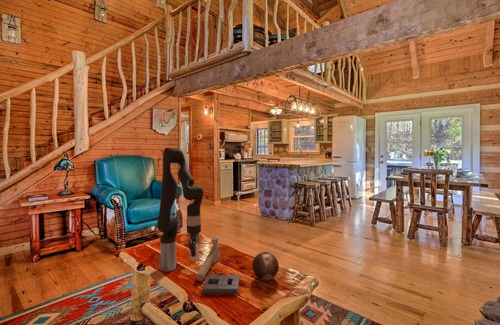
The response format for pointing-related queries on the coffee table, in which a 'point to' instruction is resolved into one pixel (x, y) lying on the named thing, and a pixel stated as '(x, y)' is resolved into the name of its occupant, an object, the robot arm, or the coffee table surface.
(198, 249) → the block
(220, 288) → the socket plate
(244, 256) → the coffee table surface
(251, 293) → the coffee table surface
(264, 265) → the wooden sphere
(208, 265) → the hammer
